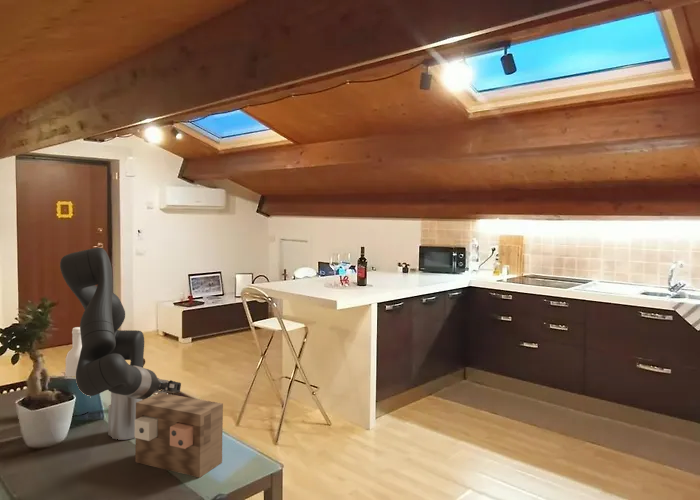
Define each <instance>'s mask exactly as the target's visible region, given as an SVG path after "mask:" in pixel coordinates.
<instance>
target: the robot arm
mask: <svg viewBox="0 0 700 500" xmlns="http://www.w3.org/2000/svg"><path fill="white" fill-rule="evenodd" d="M59 267H60V273H61V274H62V277H63V280H64V281H65V283H66V285H67V286H68V287H69V289H70V290H71V292H72V293H73V295H75V297H76V298H77V299H78V301H79V302H80V304H81V306H82V307H83V309H84V312H83V314H82V316H81V319H80V323H79V327H80V333H81V343H82V348H81V352H80V357H79V361H78V365H77V370H76V383H77V386H78V388H79V390H80V391H81V392H82V393H83V394H85V395H87V396H90V397H93V396H97V395H99V394H101V393H103V392H106V391H108V392H110V404H109V405H108V407H107V408H108V413H107V415H108V417H107V418H108V419H107V420H108V421H107V423H108V424H107V431H108V432H107V433H108V434H107V435H108V436H110V438H111V437H112V438H111V439H113V440H117V439H118V440H119V441H120V440H121V441H122V440H132V439H136V438H135V420H136V402H139V401H141V400H142V399H146V398H149V397H151V396H153V395H154V394H159V393H165V394H168V393H171V394H172V393H173V394H179V393H180V392H181V387H182V382H180V381H174V380H171V379H170V380H169V379H160V378H159V377H158V376H157V375H156V373H155V372H154V371H153V370H151V369H149V368H145V367H144V366H143V358H144V352H145V335H144V333H143V332H142V331H141V330H130V329H128V330H125V329H124V330H123V329H121V330H119V329H120V328H121V327H122V326H123V324H124V321H125V319H126V310H125V308H124V306H123V304H122V301H121V299H120V297H119V296H118V295H117V294H116V293H115V292H113V269H112V263H111V259H110V257H109V255H108V253H107V251H106V250H105V249H104V248H102V247H94V248H89V249H85V250H80V251H76V252H75V251H74V252H71V253H68V254H66V255H63V257H62V258H61V259H60V262H59ZM127 361H130V363H128V362H127ZM118 440H117V441H118Z"/></svg>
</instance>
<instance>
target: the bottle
mask: <svg viewBox="0 0 700 500" xmlns="http://www.w3.org/2000/svg"><path fill="white" fill-rule="evenodd" d="M71 334H72V337H71V339H72V348H71V349H70V350H68V352H67V354H66V356H65V377H66V376H76V370H77V365H78V361H79V357H80V352H81V348H82V343H81V333H80V326H75V327H73V328H72V331H71Z"/></svg>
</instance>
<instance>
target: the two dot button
mask: <svg viewBox="0 0 700 500" xmlns="http://www.w3.org/2000/svg"><path fill="white" fill-rule="evenodd" d="M193 435H194V425H190V424H185V423H177V424H175V425H173V426H171V427H170V446H174V447H179V448H183V449H186V448H187V447H189V446H191V445H193Z"/></svg>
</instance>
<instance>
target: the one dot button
mask: <svg viewBox="0 0 700 500" xmlns="http://www.w3.org/2000/svg"><path fill="white" fill-rule="evenodd" d="M156 437H158V418H154V417H149V416H142V417H140V418H138V419H136V420H135V438H134V439H136V438H138V439H142V440H147V441H150V440H152V439H154V438H156Z"/></svg>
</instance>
